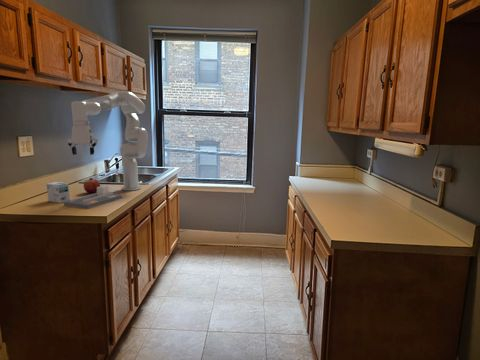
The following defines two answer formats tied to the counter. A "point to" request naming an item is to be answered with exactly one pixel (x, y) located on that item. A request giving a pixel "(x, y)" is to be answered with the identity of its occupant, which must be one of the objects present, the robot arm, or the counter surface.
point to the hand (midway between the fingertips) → (83, 154)
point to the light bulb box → (58, 192)
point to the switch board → (92, 200)
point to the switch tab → (102, 190)
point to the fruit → (91, 185)
